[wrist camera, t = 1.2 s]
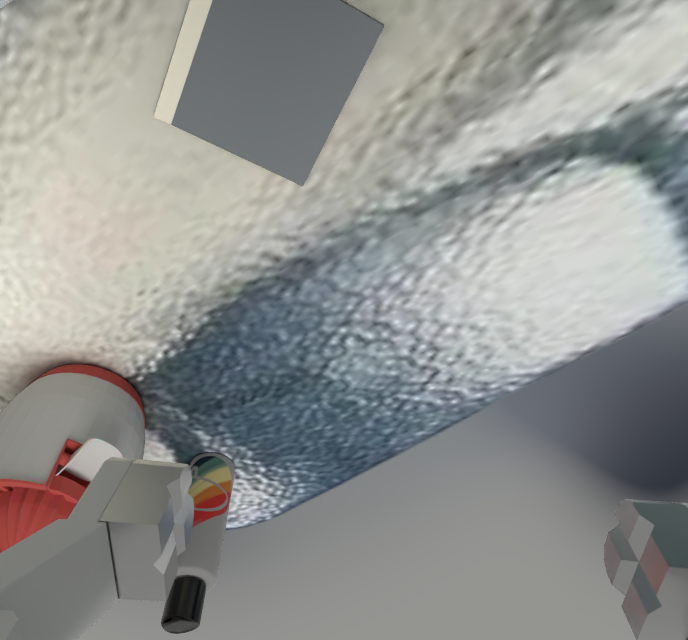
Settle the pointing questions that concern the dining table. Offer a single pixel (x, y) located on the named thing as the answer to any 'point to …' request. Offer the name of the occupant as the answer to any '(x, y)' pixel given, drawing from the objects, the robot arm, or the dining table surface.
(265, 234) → the dining table surface
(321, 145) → the mat
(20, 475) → the citrus juicer
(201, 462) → the lotion bottle
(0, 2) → the shot glass
